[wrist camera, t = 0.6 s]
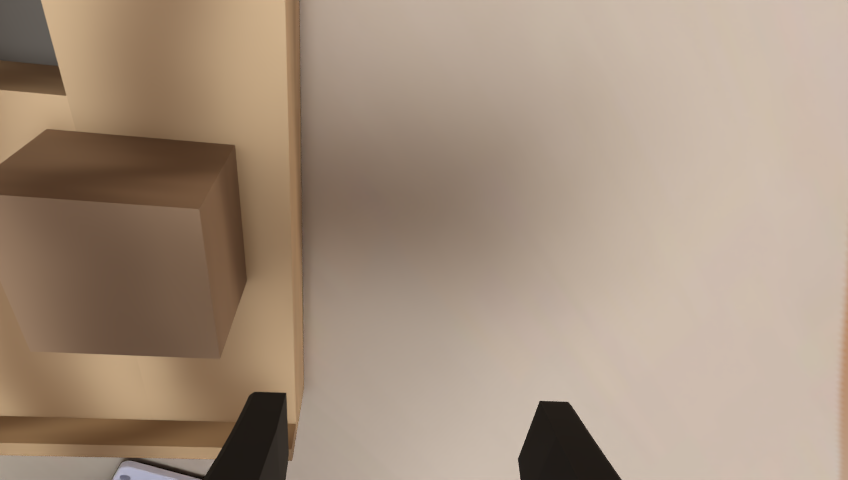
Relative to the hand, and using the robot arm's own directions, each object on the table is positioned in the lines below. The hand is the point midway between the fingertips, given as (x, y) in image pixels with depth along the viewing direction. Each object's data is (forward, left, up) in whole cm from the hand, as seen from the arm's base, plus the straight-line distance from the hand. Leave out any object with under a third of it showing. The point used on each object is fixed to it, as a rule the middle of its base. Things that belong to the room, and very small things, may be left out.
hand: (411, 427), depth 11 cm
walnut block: (-3, +7, -7) cm, 11 cm away
